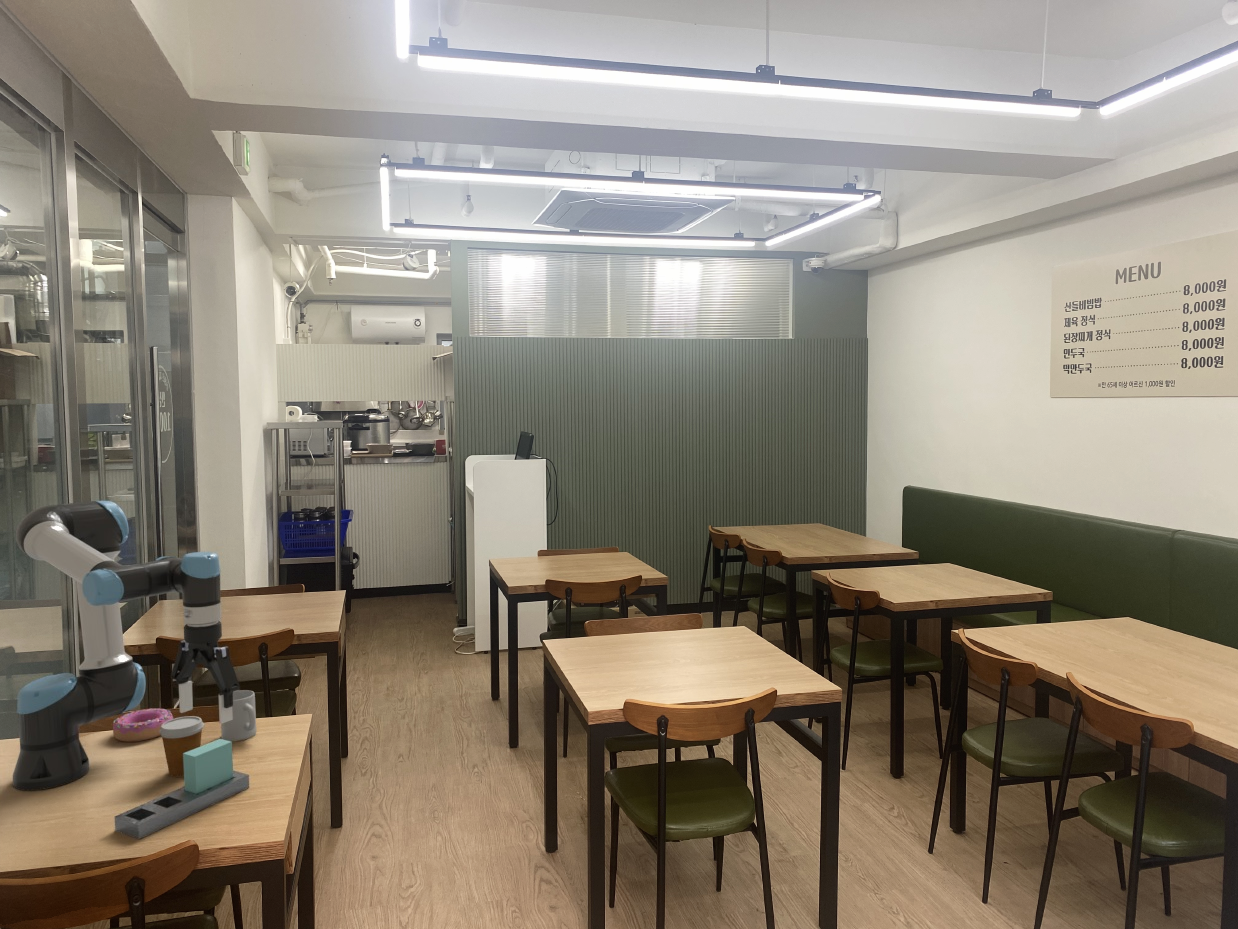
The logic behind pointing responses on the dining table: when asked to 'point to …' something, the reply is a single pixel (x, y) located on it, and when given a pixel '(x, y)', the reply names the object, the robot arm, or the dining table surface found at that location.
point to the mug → (241, 717)
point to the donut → (140, 724)
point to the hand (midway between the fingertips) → (205, 716)
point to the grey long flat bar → (175, 807)
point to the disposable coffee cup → (180, 741)
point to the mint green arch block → (208, 766)
